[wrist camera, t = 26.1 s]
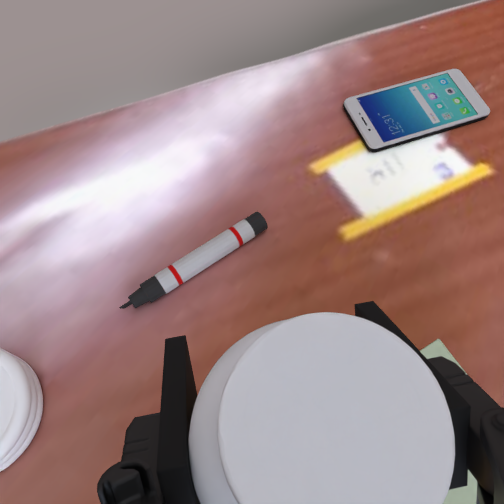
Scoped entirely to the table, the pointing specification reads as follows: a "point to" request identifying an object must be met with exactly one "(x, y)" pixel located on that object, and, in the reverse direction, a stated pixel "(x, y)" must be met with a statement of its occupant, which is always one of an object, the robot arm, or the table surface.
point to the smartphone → (415, 109)
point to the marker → (197, 260)
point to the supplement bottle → (321, 419)
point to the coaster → (17, 407)
